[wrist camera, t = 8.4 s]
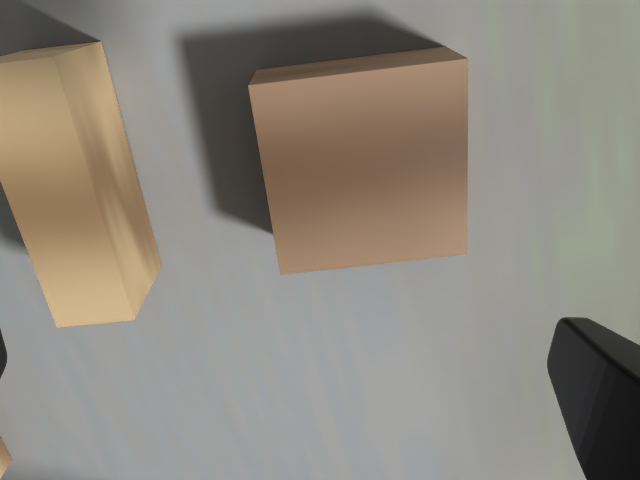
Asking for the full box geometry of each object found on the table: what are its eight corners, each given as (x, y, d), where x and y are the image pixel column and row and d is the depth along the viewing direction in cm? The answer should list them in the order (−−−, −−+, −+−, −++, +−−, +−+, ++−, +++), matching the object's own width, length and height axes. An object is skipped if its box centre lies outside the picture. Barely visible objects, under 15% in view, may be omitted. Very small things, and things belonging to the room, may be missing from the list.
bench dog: (161, 266, 20) (134, 320, 17) (96, 273, 20) (56, 327, 17) (101, 41, 17) (53, 56, 14) (22, 50, 17) (-44, 67, 14)
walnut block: (445, 216, 20) (467, 254, 17) (284, 234, 20) (280, 274, 18) (443, 45, 17) (467, 58, 15) (257, 68, 18) (248, 85, 15)
